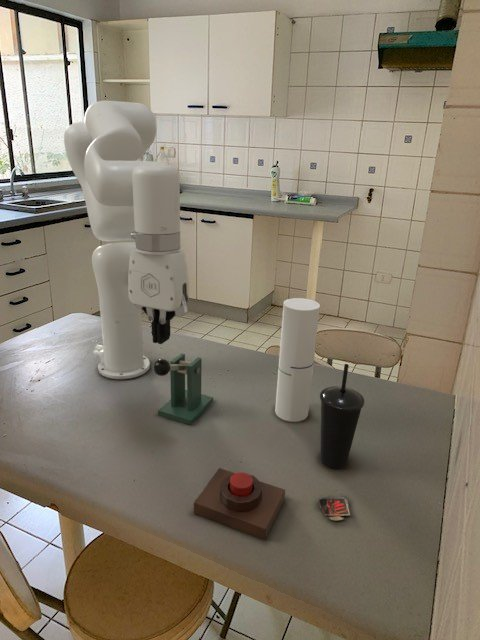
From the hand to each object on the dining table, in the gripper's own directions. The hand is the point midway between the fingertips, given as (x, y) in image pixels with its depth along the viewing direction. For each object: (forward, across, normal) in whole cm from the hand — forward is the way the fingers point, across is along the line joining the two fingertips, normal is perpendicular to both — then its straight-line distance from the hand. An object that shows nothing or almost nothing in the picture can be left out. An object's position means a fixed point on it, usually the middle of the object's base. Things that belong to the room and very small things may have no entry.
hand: (161, 340), depth 85 cm
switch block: (+20, +22, -12) cm, 32 cm away
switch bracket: (+20, 0, +9) cm, 22 cm away
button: (+17, +22, -12) cm, 30 cm away
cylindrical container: (+20, +21, +18) cm, 34 cm away
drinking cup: (+20, +33, +6) cm, 39 cm away
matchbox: (+20, +36, -6) cm, 41 cm away
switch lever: (+9, 0, +4) cm, 10 cm away
